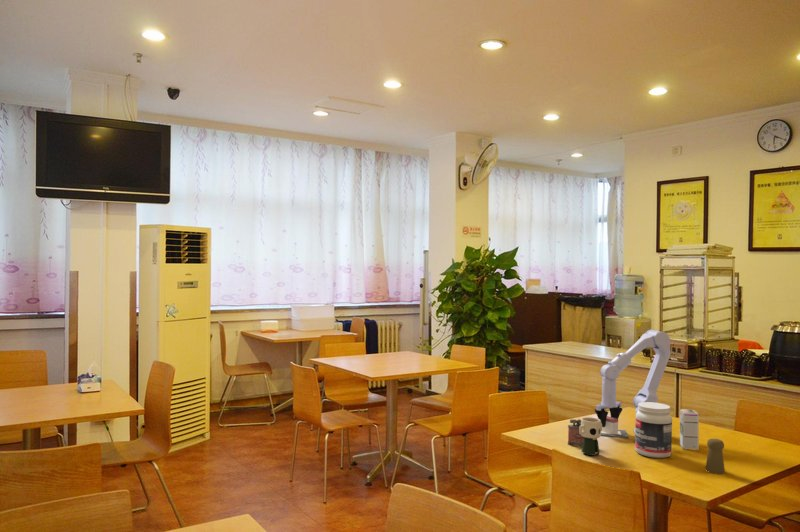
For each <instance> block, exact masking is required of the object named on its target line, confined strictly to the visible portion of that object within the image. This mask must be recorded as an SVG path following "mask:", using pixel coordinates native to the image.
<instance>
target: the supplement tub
mask: <svg viewBox="0 0 800 532" xmlns="http://www.w3.org/2000/svg"><path fill="white" fill-rule="evenodd" d="M638 409H639V411H638V412H637V413H636V412H635V421H636V424H635V428H634V429H635V432H634V450H635V451H636V452H637V454H639V455H642V456H644V457H647V458H653V459H664V458H668V457H670V456H671V454H672V449H673V448H672V445H673V444H672V443H673V442H672V439H673V438H672V437H673V418H672V417H673V416H672V415H671V414H670V413H671V412H672V410H671V406H670V405H668V404H665V403H662V402H657V403H654V402H641V403H639V404H638Z"/></svg>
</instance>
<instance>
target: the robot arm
mask: <svg viewBox="0 0 800 532" xmlns="http://www.w3.org/2000/svg"><path fill="white" fill-rule="evenodd" d="M671 341H672V340H671V338H670V337H669V334H668V333H667V332H665V331H660V330H656V329H648V330H647V331H645V333H643V334H642V335H641V337H640V338H639V339H638V340H637V341H636V342H635V343H634V344H632V345H631V347H630V348H629V349H627V351H625V352H619V353H617V354H615V357H614V358H613V359H611V361H610V360H609V361H608V362H607V363H608V364H604V365H603V366H601V368H600V370H599V373H600V375H601V402H600V403H599V404H596V405H595V408H594V413H595V414H596V416H597V419H600V420H601V423H602V427H605V425H606V418H607V416H608V414H609V413H610V417H612V418H616V419H618V420H619V417H620V415H621V414H622V411H623V407H622V401H617V379H618V378H619V376H620V373H621V372H622V371H623V370H625V369H626V368H627V367H628V366H629V365H630V364H631V363H632V359H633V358H634V357H636V356H637V355H638V354H640V352H642V351H643V350H644V349H647V348H652V349H653V351H654V353H655V355H654V359H653V361H652V363H651V366H650V368H649V371H648V373H647V377H646V379H645V383H644V384H643V386H642V388H640V389H639V390H638V392H637V394H636V395H635V396H634V398H633V399H632V404H633V406H634V407H635V414H636V413H637V412H638V411H639V409H638V404H639V403H641V402H654V403H658V400H659V399H658V398H659V397H658V395H657V392H658V390H659V389H658V388H659V386H660V383H661V381H662V378H663V376H664V373H665V370H666V367H667V365H668V362H669V359H670V357H671V353H672V352H671V345H670V344H671ZM607 410H609V411H607ZM635 424H636V420H635ZM633 432H634V433H635V428H633Z"/></svg>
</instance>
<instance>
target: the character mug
mask: <svg viewBox="0 0 800 532" xmlns="http://www.w3.org/2000/svg"><path fill="white" fill-rule="evenodd" d="M580 419H581V426H580V427H579V433H580V434H581V435H582V436H584V437H585V438H584V439H583V444H582V446H581V452H582V453H584V454H585V455H588V456H596V453H597V455H600V447H599V440H598V439H599V438H600V437H602V436H601V431H602V423H601V420H600V419H598V417H597V418H595V417H593V416H592V417H590V416H586V417H585V416H584V417H581V418H580Z"/></svg>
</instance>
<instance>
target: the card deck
mask: <svg viewBox="0 0 800 532" xmlns="http://www.w3.org/2000/svg"><path fill="white" fill-rule="evenodd" d="M618 430H619V418H618V419H616V418H612V417H611V416H608V415H607V418H606V425H605V427H602V432H606V433H609V434H617V433H618Z"/></svg>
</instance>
